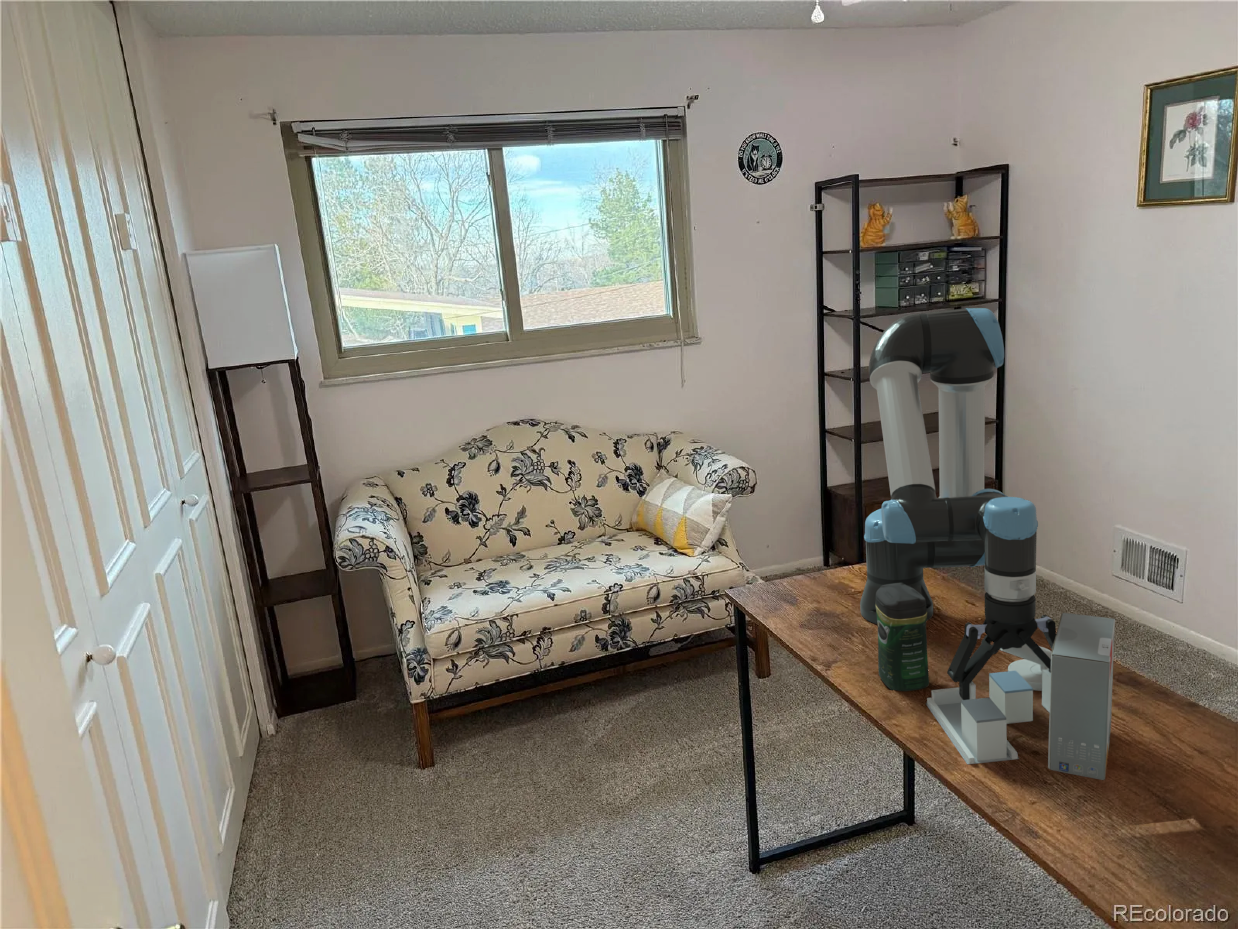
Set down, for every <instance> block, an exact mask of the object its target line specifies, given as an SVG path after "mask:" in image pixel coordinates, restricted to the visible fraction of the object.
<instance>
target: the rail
mask: <svg viewBox="0 0 1238 929" xmlns="http://www.w3.org/2000/svg"><path fill="white" fill-rule="evenodd" d="M926 700H927V701H926V703H925V706H927V708H928V709H929V711H930V713H932V715H933V717H934V718H935V720H936V721H937V722H938V724H939V726H941V728H942V730H943V731H944V732H945V734H946V736H947V737H948V738H949V740H950V742H951V743H952V745H953V746H954V748H956V750H957V752H958V753H959V754H960V756H961V757H962V759H963V761H964V762H965V763H966V765H975V764H983V763H993V762H1003V761H1010V760H1011V761H1012V760H1019V759H1020V758H1019V756H1018V752H1017V750H1016V749H1015V748H1014V746H1012V744H1011V743H1010V741H1009V740H1007V758H1001V759H992V760H983V761H977V760H976V758H975V757H974V756H973V754H972V753H971V751H970V750H969V749H968V747H967V746H966V744H965V743H964V742H963V740H962V721H961V700H963V699H962V698H961V697H960V695H959V687H951V688H949V687H948V688H939V689H931V697H926Z"/></svg>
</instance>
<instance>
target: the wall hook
mask: <svg viewBox="0 0 1238 929" xmlns="http://www.w3.org/2000/svg"><path fill="white" fill-rule="evenodd" d="M1038 646H1039V647H1040V648H1041V649H1042V650H1043V651H1044V652H1045V653H1046V655H1047V656H1048V657H1049V658H1050V659H1051V653H1052V650H1050V649H1048V648H1046V647H1043V646H1040V645H1038ZM999 650H1000V651H1002V652H1005V653H1007V654H1010V655H1013V656H1015V657H1018V658H1021V659H1018V660H1015V661H1013V662H1011V663H1010V664H1008V667H1007V671H1017V672H1018V673H1019V674H1020V675H1021V676H1022V678H1023V679H1024V680H1025V681H1026V682H1027V683H1028V684H1029V685H1030V686H1031V687H1032V688H1033V691H1038V692H1040V691H1041V692H1042V670H1048V671H1049V669H1048V668H1047V667H1046V666H1045V664H1044V663H1043V662H1042V661H1041V660H1040V659H1039V658H1038V657H1037V656H1036V655H1035V654H1034V653H1033V651H1032V650H1031V649H1030V648H1029V647H1028V646H1027V645H1026V644H1025V645H1023V646H1022V648H1009V649H1004V650H1003V649H1002V648H1000V649H999Z"/></svg>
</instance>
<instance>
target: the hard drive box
mask: <svg viewBox="0 0 1238 929" xmlns="http://www.w3.org/2000/svg"><path fill="white" fill-rule="evenodd" d="M1115 622H1116V619H1115V618H1111V617H1105V616H1103V617H1102V616H1094V615H1087V614H1078V613H1069V612H1062V613H1061V615H1060V617H1059V621H1058V625H1057V629H1056V637H1055V641H1054V644H1053V648H1052V649H1051V651H1052V653H1051V682H1050V713H1049V714H1048V715H1049V717H1048V718H1049V719H1048V720H1049V721H1048V722H1049V725H1048V751H1047V752H1048V754H1047V756H1048V757H1047V759H1048V760H1047V765H1048V766H1047V768H1048V769H1049V770H1050V771H1054V772H1060V773H1064V774H1070V775H1074V776H1075V775H1076V776H1081V777H1084V778H1085V777H1086V778H1091V779H1096V780H1101V781H1106V780H1105V779H1106V775H1107V768H1108V767H1107V766H1108V759H1109V757H1108V756H1109V748H1110V740H1111V739H1110V738H1111V730H1112V708H1113V706H1112V704H1113V678H1114V676H1113V674H1114V653H1115V652H1114V648H1115V626H1116V625H1115V624H1116V623H1115Z"/></svg>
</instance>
